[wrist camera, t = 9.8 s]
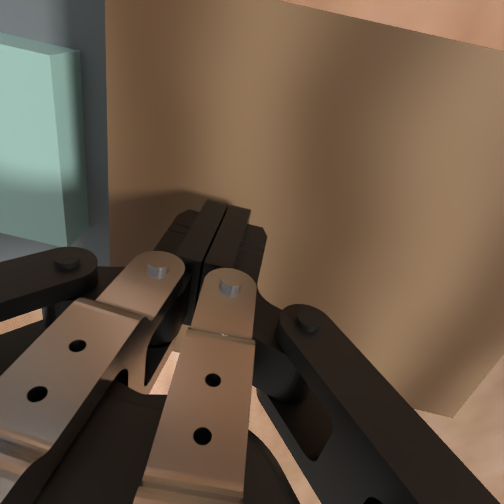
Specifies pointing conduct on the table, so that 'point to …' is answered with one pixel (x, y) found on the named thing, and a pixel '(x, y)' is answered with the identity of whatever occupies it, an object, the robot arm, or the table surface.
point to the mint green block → (41, 142)
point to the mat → (93, 97)
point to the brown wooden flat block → (324, 170)
